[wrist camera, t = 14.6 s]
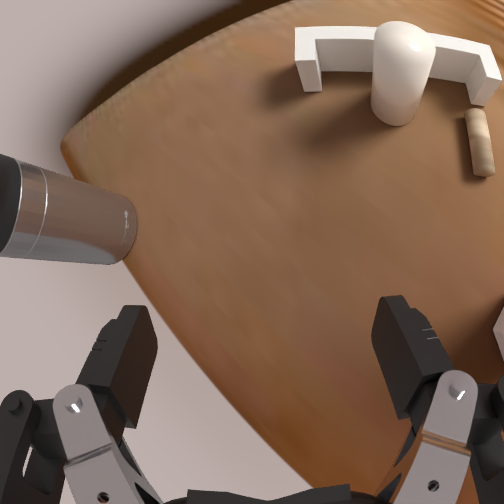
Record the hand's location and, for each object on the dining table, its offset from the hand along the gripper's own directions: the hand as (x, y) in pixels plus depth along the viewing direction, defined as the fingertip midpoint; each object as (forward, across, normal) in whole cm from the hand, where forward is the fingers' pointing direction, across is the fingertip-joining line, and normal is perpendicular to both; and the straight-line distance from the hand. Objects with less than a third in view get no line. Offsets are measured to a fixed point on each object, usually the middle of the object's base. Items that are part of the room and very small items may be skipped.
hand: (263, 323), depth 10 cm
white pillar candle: (+25, -15, -6) cm, 30 cm away
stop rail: (+27, -17, -10) cm, 33 cm away
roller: (+19, -25, -4) cm, 32 cm away
